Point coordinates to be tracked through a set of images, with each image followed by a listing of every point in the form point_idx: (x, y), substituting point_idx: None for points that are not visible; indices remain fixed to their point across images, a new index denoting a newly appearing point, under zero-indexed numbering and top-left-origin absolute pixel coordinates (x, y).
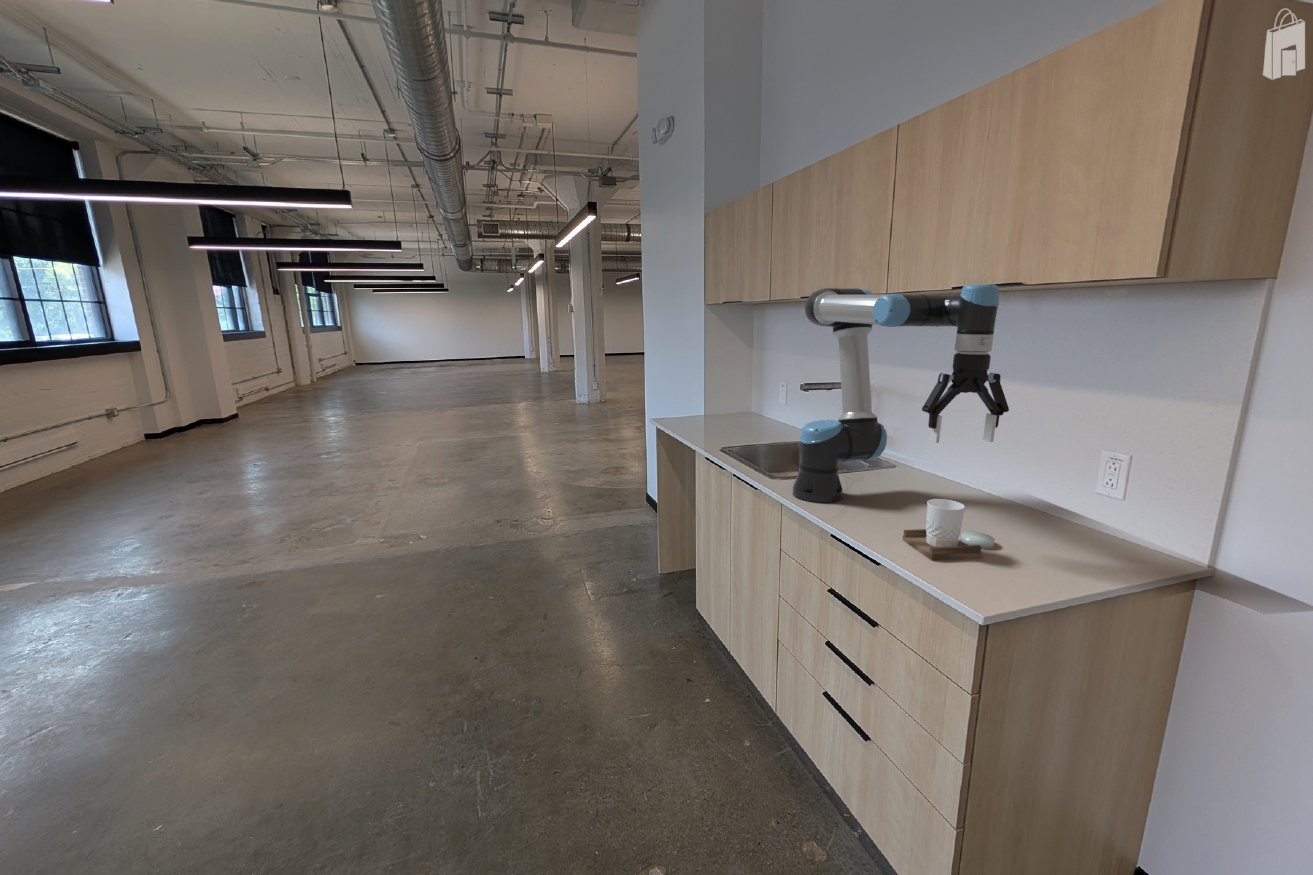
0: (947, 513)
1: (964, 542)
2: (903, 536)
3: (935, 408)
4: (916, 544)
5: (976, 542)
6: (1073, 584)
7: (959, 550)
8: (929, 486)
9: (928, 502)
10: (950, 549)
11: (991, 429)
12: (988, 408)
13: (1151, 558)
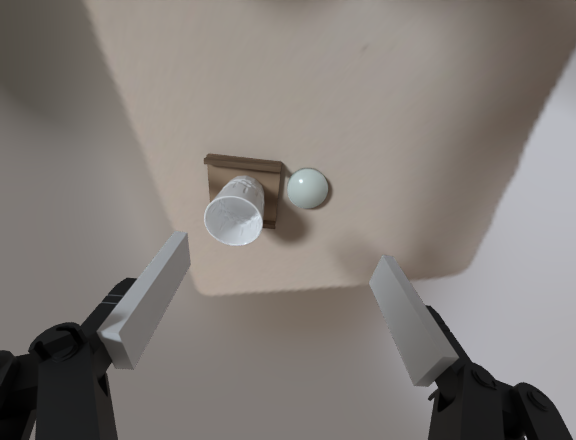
0: (223, 237)
1: (287, 186)
2: (207, 156)
3: (73, 387)
4: (209, 188)
5: (292, 202)
6: (313, 278)
7: None
8: None
9: (211, 204)
10: None
11: (386, 318)
12: (456, 401)
13: (449, 256)
